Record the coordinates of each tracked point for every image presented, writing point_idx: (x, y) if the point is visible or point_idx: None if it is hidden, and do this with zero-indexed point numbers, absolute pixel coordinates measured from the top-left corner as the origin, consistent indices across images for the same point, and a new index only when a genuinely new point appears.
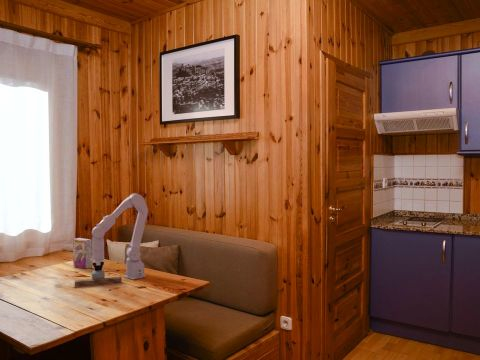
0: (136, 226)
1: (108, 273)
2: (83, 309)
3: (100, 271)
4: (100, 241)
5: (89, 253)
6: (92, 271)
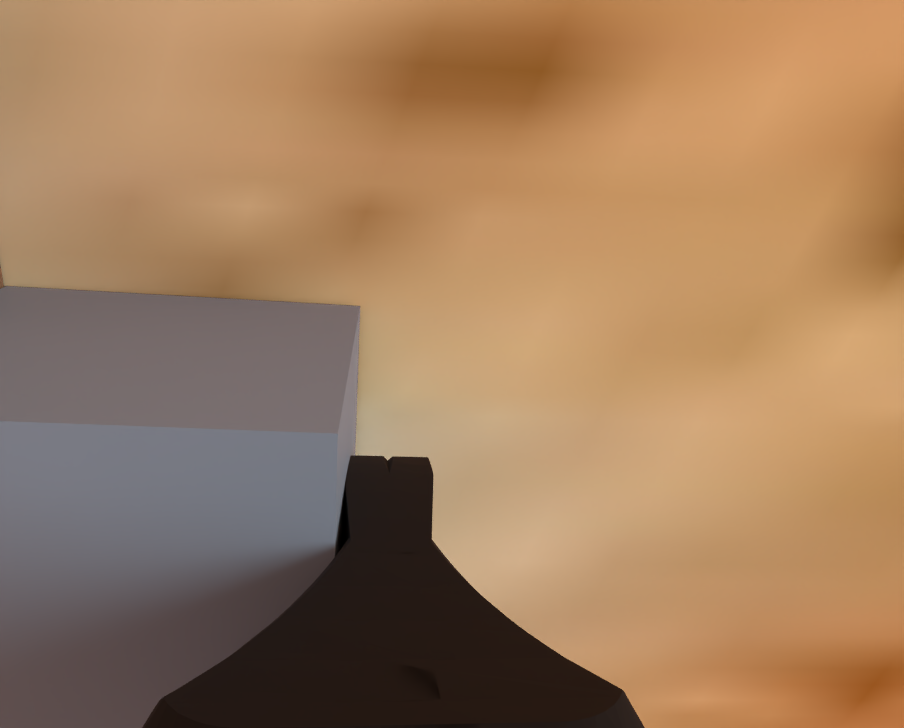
0: None
1: (880, 648)
2: None
3: (151, 708)
4: None
5: None
6: (235, 446)
